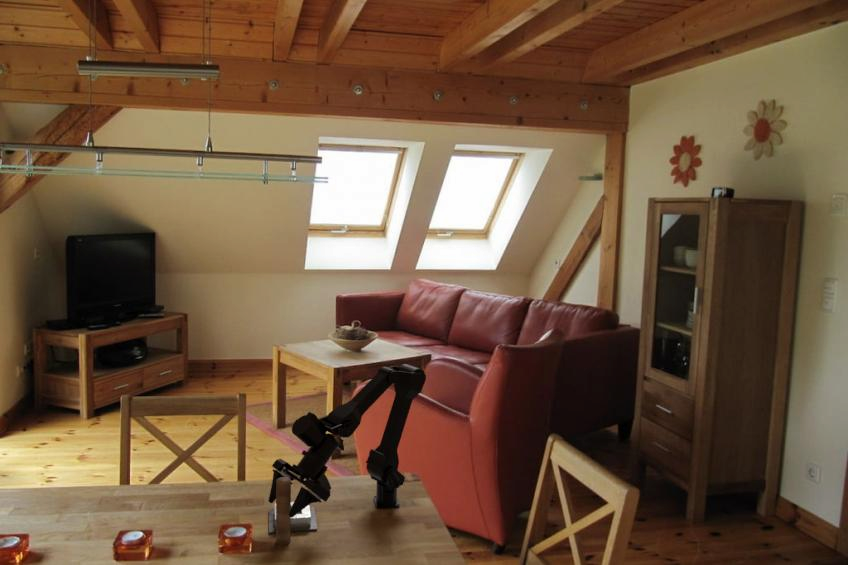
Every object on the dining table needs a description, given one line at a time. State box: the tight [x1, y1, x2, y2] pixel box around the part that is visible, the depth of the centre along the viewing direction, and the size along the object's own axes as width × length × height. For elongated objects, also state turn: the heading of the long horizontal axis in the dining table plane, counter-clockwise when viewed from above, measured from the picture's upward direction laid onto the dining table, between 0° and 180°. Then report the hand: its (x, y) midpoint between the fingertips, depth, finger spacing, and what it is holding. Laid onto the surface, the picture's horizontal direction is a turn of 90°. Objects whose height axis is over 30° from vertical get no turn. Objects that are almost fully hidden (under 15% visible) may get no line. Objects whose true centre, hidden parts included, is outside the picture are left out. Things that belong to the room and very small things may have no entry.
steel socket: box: [268, 501, 318, 535], centre depth 183 cm, size 12×12×3 cm
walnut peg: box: [275, 477, 292, 546], centre depth 172 cm, size 4×4×16 cm
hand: (279, 509), depth 171 cm, fingers open, 9 cm apart
